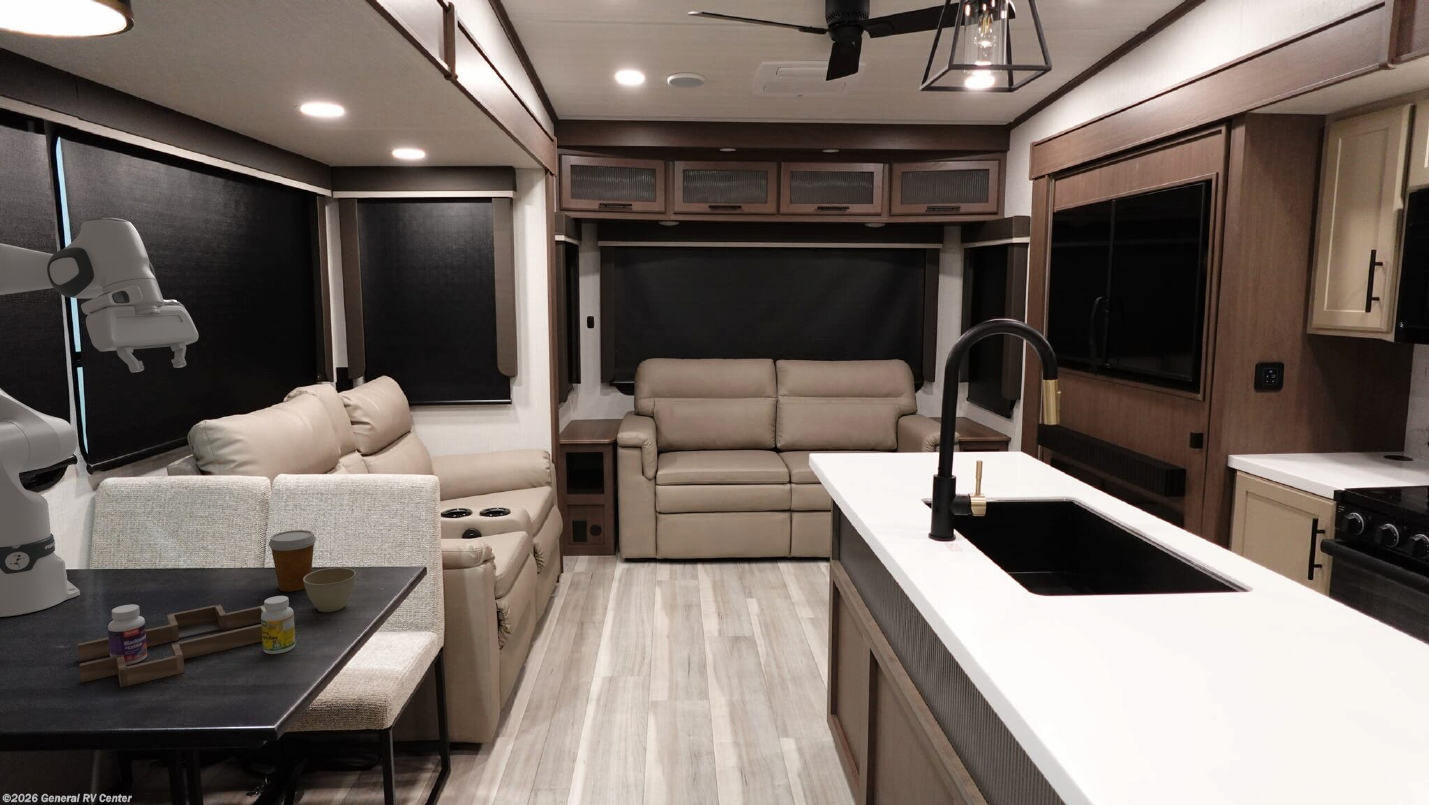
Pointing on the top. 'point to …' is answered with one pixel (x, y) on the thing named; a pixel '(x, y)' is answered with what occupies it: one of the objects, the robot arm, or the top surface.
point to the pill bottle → (127, 634)
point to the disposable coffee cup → (292, 557)
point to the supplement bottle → (277, 625)
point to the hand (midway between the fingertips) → (159, 369)
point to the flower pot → (330, 588)
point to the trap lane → (174, 644)
